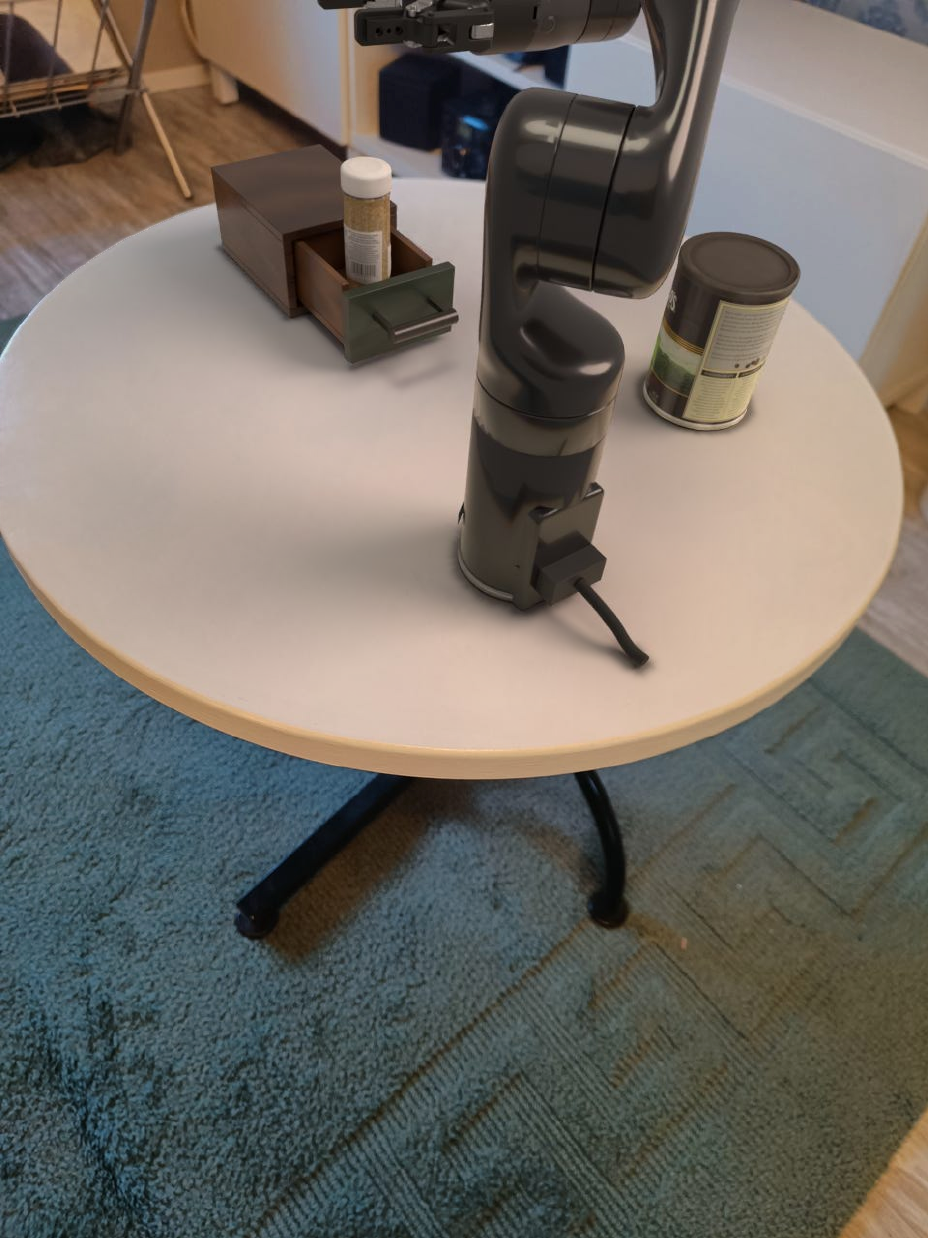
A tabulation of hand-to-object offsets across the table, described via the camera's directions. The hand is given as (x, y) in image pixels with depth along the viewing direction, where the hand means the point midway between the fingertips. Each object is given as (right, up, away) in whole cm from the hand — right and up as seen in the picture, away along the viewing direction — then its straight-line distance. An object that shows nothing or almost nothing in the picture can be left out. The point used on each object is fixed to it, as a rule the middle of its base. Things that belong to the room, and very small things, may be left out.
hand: (336, 9), depth 67 cm
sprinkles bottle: (0, -15, +21) cm, 26 cm away
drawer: (+1, -17, +21) cm, 27 cm away
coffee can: (+32, -26, +18) cm, 45 cm away
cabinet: (-7, -8, +28) cm, 30 cm away
